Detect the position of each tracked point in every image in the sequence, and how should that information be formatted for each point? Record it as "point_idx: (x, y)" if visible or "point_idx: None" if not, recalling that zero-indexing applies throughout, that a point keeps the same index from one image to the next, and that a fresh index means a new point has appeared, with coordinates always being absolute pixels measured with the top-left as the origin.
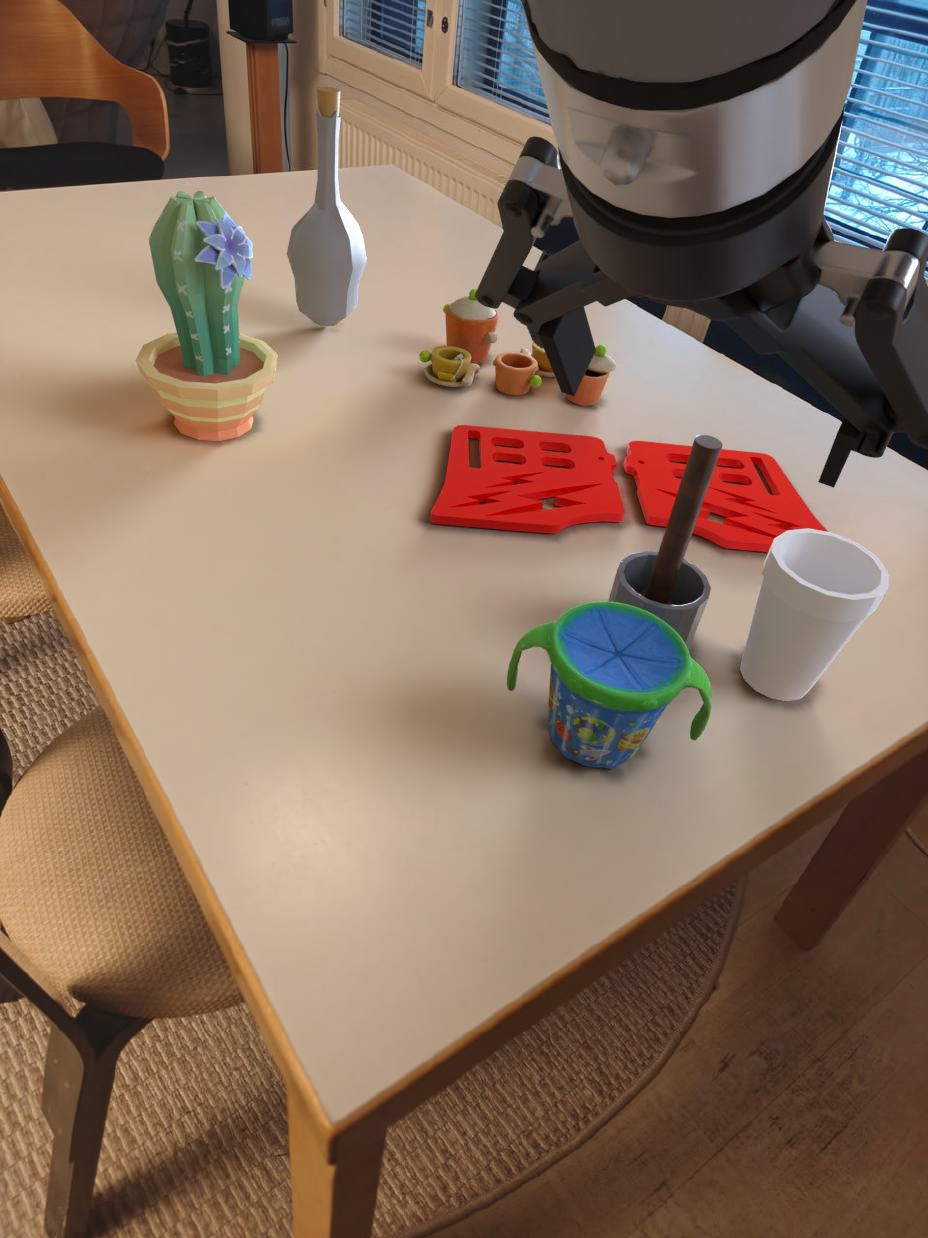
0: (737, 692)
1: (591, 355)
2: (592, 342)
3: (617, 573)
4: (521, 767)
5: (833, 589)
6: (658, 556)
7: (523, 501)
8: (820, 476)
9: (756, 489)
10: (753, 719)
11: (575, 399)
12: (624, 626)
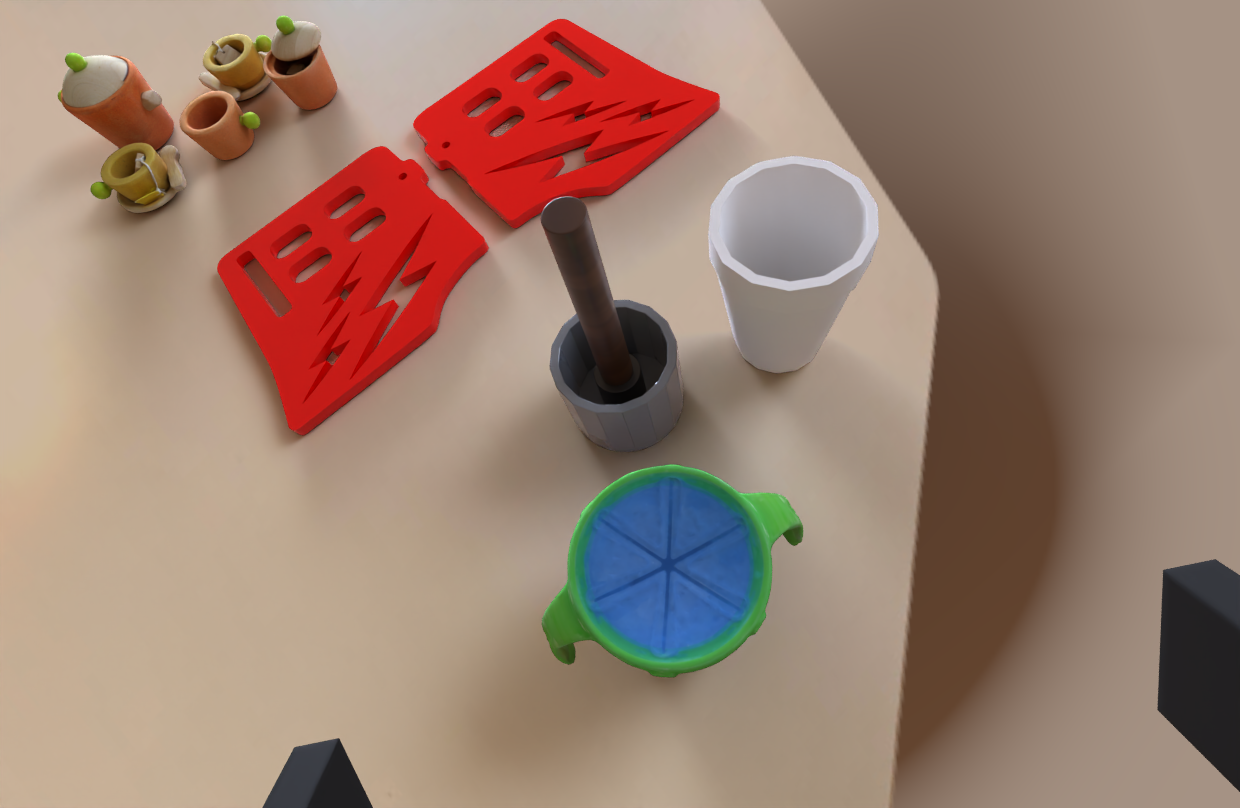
0: (762, 391)
1: (342, 777)
2: (314, 803)
3: (560, 392)
4: (647, 707)
5: (792, 218)
6: (592, 348)
7: (372, 319)
8: (1201, 753)
9: (582, 82)
10: (801, 415)
11: (312, 105)
12: (643, 514)
